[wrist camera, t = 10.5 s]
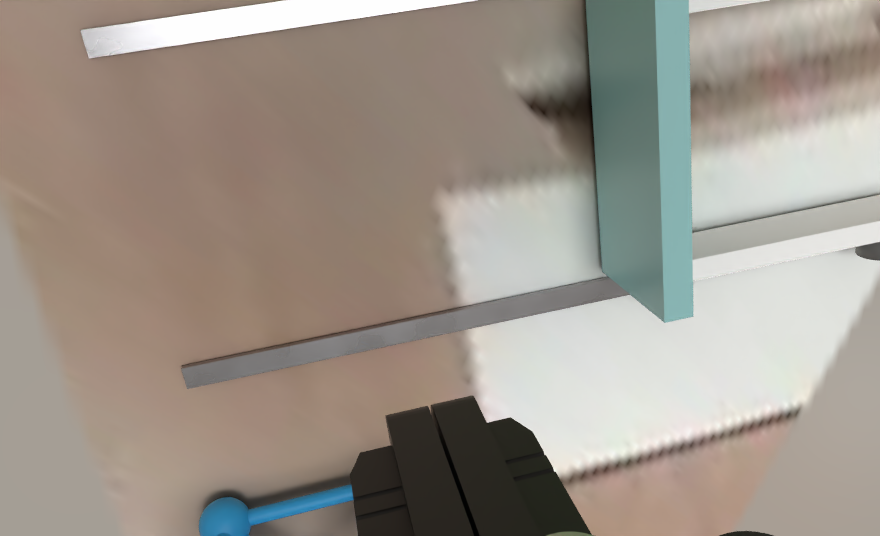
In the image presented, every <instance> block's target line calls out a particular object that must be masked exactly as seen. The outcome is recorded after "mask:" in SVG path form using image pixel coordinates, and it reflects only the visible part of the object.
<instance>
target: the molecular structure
mask: <svg viewBox="0 0 880 536" xmlns="http://www.w3.org/2000/svg"><path fill="white" fill-rule="evenodd" d="M352 500H354V499H353V493H352V486H351V484H350V485H345V486H341V487H337V488H333V489H329V490H325V491H321V492H317V493H313V494H309V495H305V496H301V497H297V498H293V499H289V500H285V501H281V502H277V503H273V504H269V505H265V506H261V507H257V508H253V509H248V507H247V506H246V505H245V504H244V503H243V502H242V501H240V500H238V499H236V498H232V497H224V498H220V499H217V500H215V501H213V502H212V503H210V504H209V505H208V506H207V507H206V508H205V509H204V511H203V513H202V515H201V517H200V520H199V532H200V536H250V535H249V533H250V529H251V526H252V525H256V524H260V523H264V522H268V521H272V520H276V519H280V518H284V517H288V516H292V515H296V514H300V513H304V512H308V511H312V510H316V509H320V508H324V507H328V506H332V505H336V504H340V503H344V502H348V501H352Z"/></svg>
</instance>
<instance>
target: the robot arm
mask: <svg viewBox="0 0 880 536" xmlns="http://www.w3.org/2000/svg"><path fill="white" fill-rule="evenodd" d="M386 422H387V428H388V433H389V438H390V443H391V446H387V447H383V448H378V449H374V450H370V451H366V452H361V453H360V454H359V456H358V459H357V461H356V463H355V465H354V467H353V470H352V472H351V474H350V478H351V486H352V493H353V499H354V508H355V515H356V522H357V530H358V536H594V535H592V534H591V533H590V531H589V529H588V527H587V526H586V524H585V522H584V520H583V519H582V517H581V515H580V514H579V512H578V510H577V508H576V507H575V505H574V503H573V501H572V500H571V498H570V496H569V494H568V493H567V491H566V489H565V488H564V486H563V484H562V482H561V481H560V479H559V477H558V475H557V474H556V472H554V470H553V467H552V465H551V463H550V462H549V460H548V458H547V456H546V455H544V451H543V449H542V448H541V446H540V444H539V442H538V441H537V439H536V437H535V436H534V434H533V432H532V431H531V430H529V429H527V428H526V427H524V426H523V425H521V424H520V423H518V422H517V421H515V420H514V419H512V418H506V419H502V420H497V421H493V422H489V423H487V422H486V420H485V418H484V416H483V414H482V412H481V410H480V408H479V406H478V404H477V402H476V400H475V398H474V396H468V397H464V398H459V399H455V400H450V401H446V402H442V403H437V404H433V405H431V413H430V410H429V407H428V406H425V407H420V408H416V409H412V410H407V411H403V412H398V413H394V414H390V415H386ZM720 536H773V535H769V534H765V533H760V532H752V531H737V532H731V533H726V534H723V535H720Z"/></svg>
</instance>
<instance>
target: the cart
mask: <svg viewBox="0 0 880 536" xmlns="http://www.w3.org/2000/svg"><path fill="white" fill-rule="evenodd" d="M762 1H768V0H586V15H587V31H588V48H589V64H590V80H591V96H592V113H593V129H594V145H595V161H596V177H597V194H598V210H599V226H600V242H601V259H602V272H603V273H605V274H606V275H607V276H608V277H609V278H611V279H612V280H613V281H614V282H616V283H617V284H618V285H619V286H620V287H622V288H623V289H624V290H625V291H627V292H628V293H629V294H630V295H631V296H633V297H634V298H635V299H636V300H638V301H639V302H640V303H641V304H642V305H644V306H645V307H646V308H647V309H648V310H650V311H651V312H652V313H653V314H655V315H656V316H657V317H658V318H659V319H661V320H662V321H663V322H664V323H666V322H670V321H675V320H679V319H684V318H688V317H693V281H698V280H703V279H707V278H712V277H717V276H722V275H726V274H731V273H736V272H740V271H745V270H750V269H754V268H759V267H764V266H768V265H773V264H778V263H783V262H787V261H792V260H797V259H801V258H806V257H811V256H815V255H820V254H825V253H829V252H834V251H839V250H844V249H848V248H853V247H856V249H855V253H856V254H857V255H858V256H860V257H862V258H866V259H871V260H880V195H876V196H871V197H866V198H861V199H857V200H852V201H847V202H842V203H837V204H832V205H827V206H822V207H817V208H812V209H807V210H802V211H797V212H793V213H788V214H783V215H778V216H773V217H768V218H763V219H758V220H753V221H748V222H743V223H738V224H734V225H729V226H724V227H719V228H714V229H709V230H704V231H699V232H694V233H692V190H691V120H690V50H689V13H693V12H699V11H705V10H712V9H718V8H724V7H731V6H737V5H743V4H749V3H756V2H762Z"/></svg>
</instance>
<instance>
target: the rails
mask: <svg viewBox="0 0 880 536" xmlns="http://www.w3.org/2000/svg"><path fill="white" fill-rule="evenodd" d="M469 1H476V0H285V1H278V2H271V3H264V4H258V5H251V6H244V7H237V8H230V9H223V10H216V11H209V12H202V13H195V14H188V15H181V16H174V17H167V18H160V19H154V20H147V21H140V22H133V23H126V24H119V25H112V26H105V27H98V28H91V29H84V30H81V34H82V37H83V41H84V44H85V47H86V51H87V54H88V57H89V58H95V57H102V56H108V55H115V54H122V53H128V52H135V51H142V50H148V49H155V48H162V47H168V46H175V45H182V44H188V43H195V42H202V41H208V40H215V39H222V38H229V37H235V36H242V35H249V34H255V33H262V32H269V31H275V30H282V29H289V28H295V27H302V26H309V25H315V24H322V23H329V22H335V21H342V20H349V19H356V18H362V17H369V16H376V15H382V14H389V13H396V12H402V11H409V10H416V9H422V8H429V7H436V6H442V5H449V4H456V3H463V2H469ZM626 295H630V294H629V293H628V292H627V291H625V290H624V289H623V288H622V287H620V286H619V285H618V284H617V283H616V282H614V281H613V280H612V279H611V278H609V277H605V278H600V279H595V280H591V281H586V282H581V283H576V284H571V285H567V286H562V287H557V288H552V289H547V290H543V291H538V292H533V293H528V294H523V295H519V296H514V297H509V298H504V299H499V300H495V301H490V302H485V303H480V304H475V305H471V306H466V307H461V308H456V309H451V310H447V311H442V312H437V313H432V314H427V315H423V316H418V317H413V318H408V319H404V320H399V321H394V322H389V323H384V324H380V325H375V326H370V327H365V328H360V329H356V330H351V331H346V332H341V333H336V334H332V335H327V336H322V337H317V338H312V339H308V340H303V341H298V342H293V343H288V344H284V345H279V346H274V347H269V348H264V349H260V350H255V351H250V352H245V353H241V354H236V355H231V356H226V357H221V358H217V359H212V360H207V361H202V362H197V363H193V364H188V365H183V366H182V368H181V370H182V373H183V376H184V380H185V383H186V386H187V389H189V388H194V387H199V386H203V385H208V384H213V383H218V382H222V381H227V380H232V379H236V378H241V377H246V376H250V375H255V374H260V373H264V372H269V371H274V370H279V369H283V368H288V367H293V366H297V365H302V364H307V363H311V362H316V361H321V360H325V359H330V358H335V357H340V356H344V355H349V354H354V353H358V352H363V351H368V350H372V349H377V348H382V347H386V346H391V345H396V344H401V343H405V342H410V341H415V340H419V339H424V338H429V337H433V336H438V335H443V334H448V333H452V332H457V331H462V330H466V329H471V328H476V327H480V326H485V325H490V324H494V323H499V322H504V321H509V320H513V319H518V318H523V317H527V316H532V315H537V314H541V313H546V312H551V311H555V310H560V309H565V308H570V307H574V306H579V305H584V304H588V303H593V302H598V301H602V300H607V299H612V298H616V297H621V296H626Z"/></svg>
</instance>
